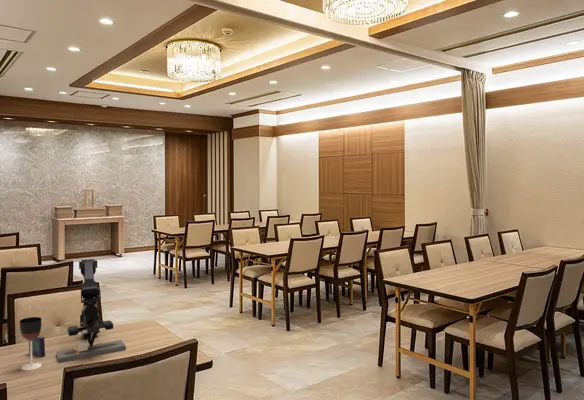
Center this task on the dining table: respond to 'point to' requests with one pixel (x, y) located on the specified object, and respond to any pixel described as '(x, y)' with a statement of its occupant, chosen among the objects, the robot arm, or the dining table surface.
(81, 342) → the fader tab
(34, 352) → the flask
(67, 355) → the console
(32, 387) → the dining table surface
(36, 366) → the wineglass
